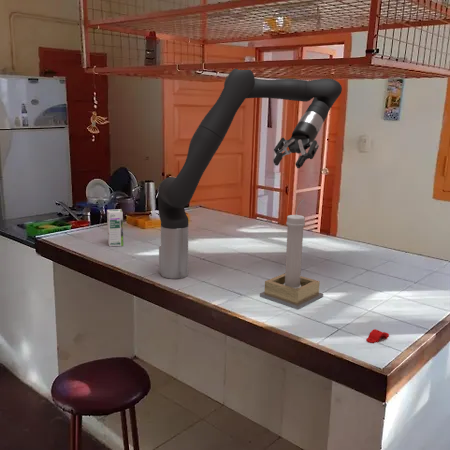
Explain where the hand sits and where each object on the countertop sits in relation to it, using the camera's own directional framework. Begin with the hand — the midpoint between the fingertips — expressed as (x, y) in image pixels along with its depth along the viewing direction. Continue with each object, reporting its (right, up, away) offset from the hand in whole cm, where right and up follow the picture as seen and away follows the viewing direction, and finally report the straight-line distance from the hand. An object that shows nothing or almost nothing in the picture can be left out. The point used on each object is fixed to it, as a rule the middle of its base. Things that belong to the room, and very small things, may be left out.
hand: (286, 165), depth 162 cm
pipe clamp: (+19, -49, -33) cm, 62 cm away
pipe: (+1, -41, -7) cm, 41 cm away
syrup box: (-65, -27, +44) cm, 83 cm away
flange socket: (+1, -41, -6) cm, 42 cm away
